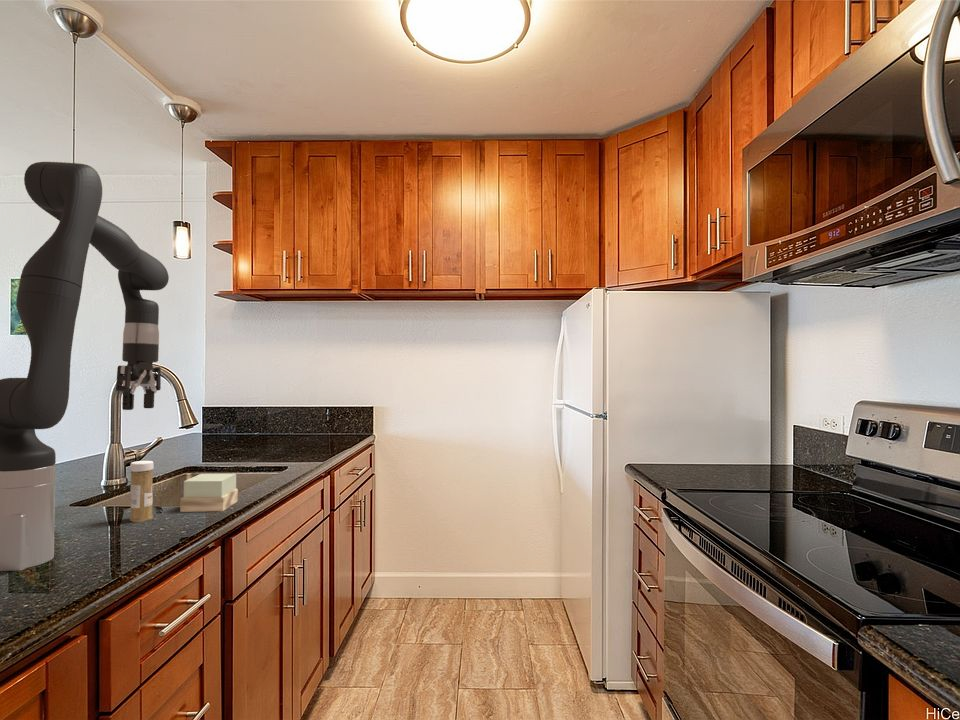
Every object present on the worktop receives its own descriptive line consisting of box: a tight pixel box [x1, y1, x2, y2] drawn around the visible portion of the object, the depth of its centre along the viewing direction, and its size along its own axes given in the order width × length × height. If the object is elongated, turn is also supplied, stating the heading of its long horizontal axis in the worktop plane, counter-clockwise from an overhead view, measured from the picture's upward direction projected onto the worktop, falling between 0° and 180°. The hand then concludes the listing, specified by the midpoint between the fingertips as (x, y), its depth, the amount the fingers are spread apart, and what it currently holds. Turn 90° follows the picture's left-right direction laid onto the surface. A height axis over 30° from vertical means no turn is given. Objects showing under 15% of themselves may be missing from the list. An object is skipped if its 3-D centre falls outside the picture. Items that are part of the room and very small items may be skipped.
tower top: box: [183, 473, 237, 498], centre depth 139 cm, size 9×9×4 cm
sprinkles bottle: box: [129, 460, 155, 523], centre depth 128 cm, size 5×5×14 cm
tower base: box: [179, 488, 239, 513], centre depth 139 cm, size 10×10×4 cm
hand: (138, 409), depth 135 cm, fingers open, 8 cm apart
